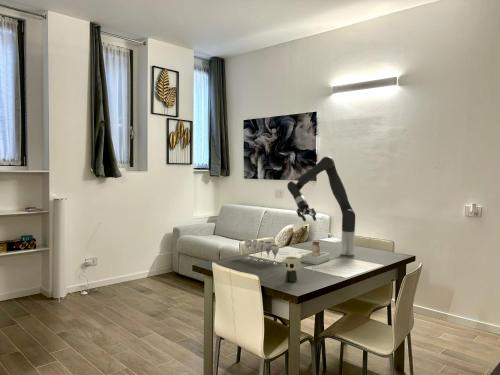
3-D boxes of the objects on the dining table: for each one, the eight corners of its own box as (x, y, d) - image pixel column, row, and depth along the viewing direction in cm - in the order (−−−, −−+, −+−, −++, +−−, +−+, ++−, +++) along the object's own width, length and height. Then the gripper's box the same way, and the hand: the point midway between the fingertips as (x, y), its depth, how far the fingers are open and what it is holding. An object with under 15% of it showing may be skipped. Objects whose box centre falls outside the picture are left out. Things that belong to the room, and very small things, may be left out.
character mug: (279, 281, 218) (279, 257, 217) (285, 278, 224) (286, 255, 223) (297, 284, 212) (297, 260, 211) (302, 281, 218) (303, 258, 217)
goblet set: (280, 263, 259) (280, 243, 259) (275, 265, 255) (275, 244, 254) (247, 256, 277) (248, 238, 276) (242, 258, 273) (242, 239, 272)
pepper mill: (314, 258, 273) (314, 240, 272) (320, 259, 270) (321, 241, 269) (310, 259, 269) (310, 241, 268) (317, 260, 265) (317, 242, 265)
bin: (313, 257, 280) (314, 250, 280) (329, 259, 273) (329, 253, 272) (301, 261, 265) (301, 255, 265) (317, 264, 258) (317, 257, 258)
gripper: (295, 200, 287) (304, 217, 277) (311, 199, 293) (320, 216, 283) (291, 207, 292) (299, 224, 282) (307, 206, 298) (316, 223, 288)
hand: (310, 220), depth 283 cm, fingers open, 8 cm apart
